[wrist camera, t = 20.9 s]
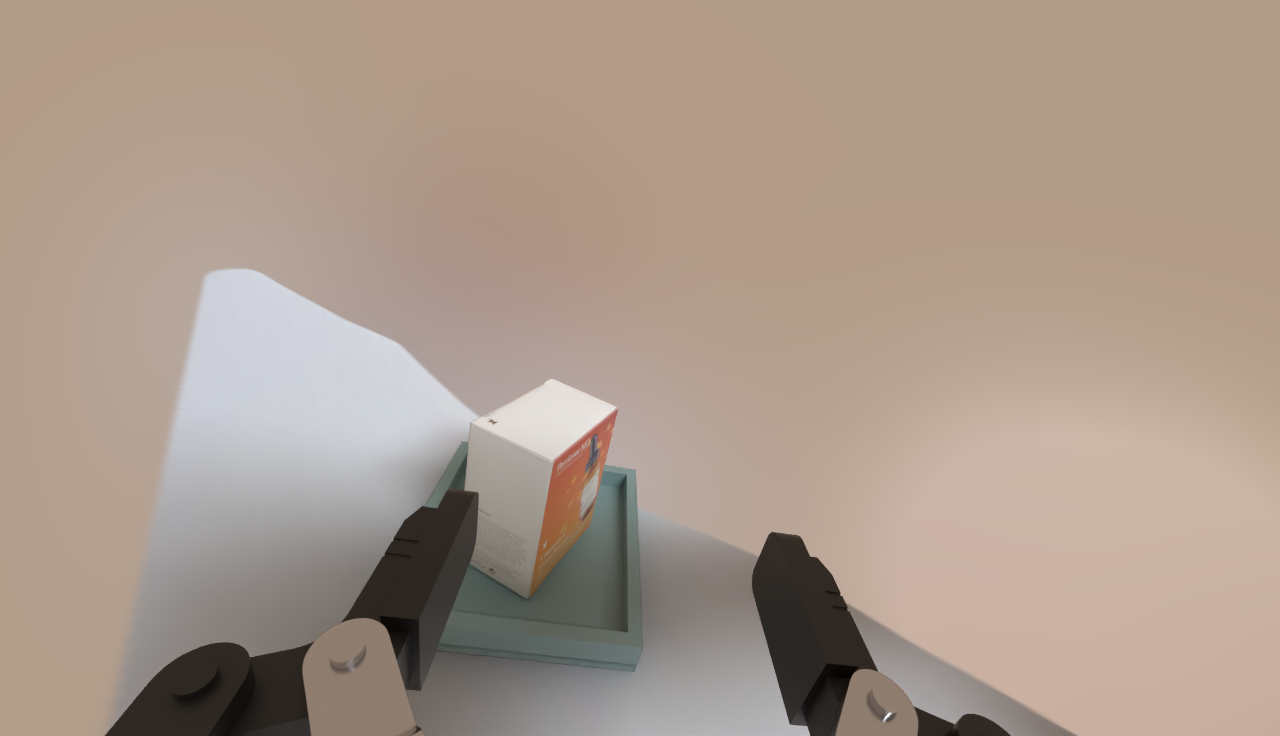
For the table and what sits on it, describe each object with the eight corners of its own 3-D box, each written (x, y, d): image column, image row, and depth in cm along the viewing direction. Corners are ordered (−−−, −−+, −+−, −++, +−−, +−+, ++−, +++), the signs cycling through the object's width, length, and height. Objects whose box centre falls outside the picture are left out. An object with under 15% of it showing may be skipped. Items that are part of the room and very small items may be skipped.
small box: (526, 604, 27) (551, 463, 23) (455, 559, 29) (466, 421, 25) (592, 524, 34) (621, 406, 30) (532, 492, 36) (551, 375, 32)
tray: (630, 489, 40) (635, 470, 39) (634, 671, 26) (642, 648, 25) (460, 462, 38) (462, 441, 37) (364, 642, 24) (363, 615, 23)
